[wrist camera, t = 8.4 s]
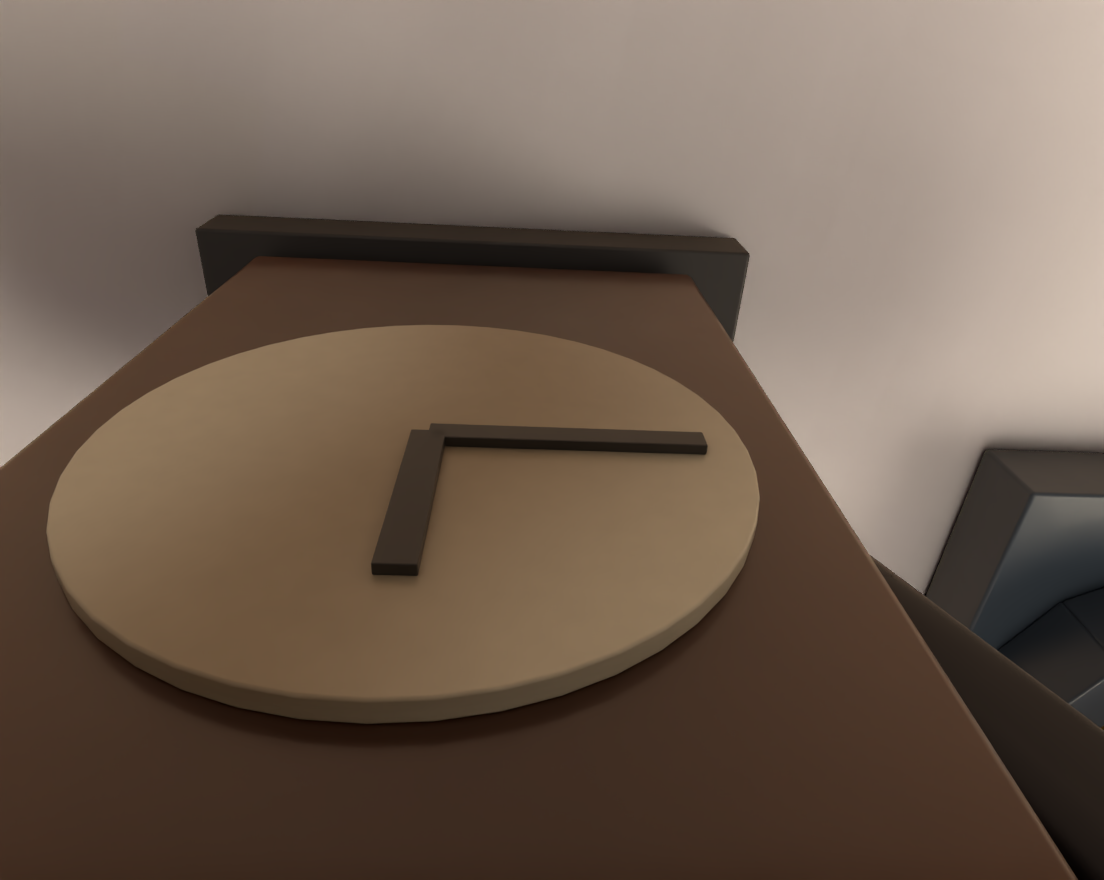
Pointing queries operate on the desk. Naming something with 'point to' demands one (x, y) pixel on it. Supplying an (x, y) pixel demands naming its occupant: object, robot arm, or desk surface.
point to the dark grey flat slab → (478, 251)
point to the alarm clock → (464, 608)
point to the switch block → (1034, 568)
